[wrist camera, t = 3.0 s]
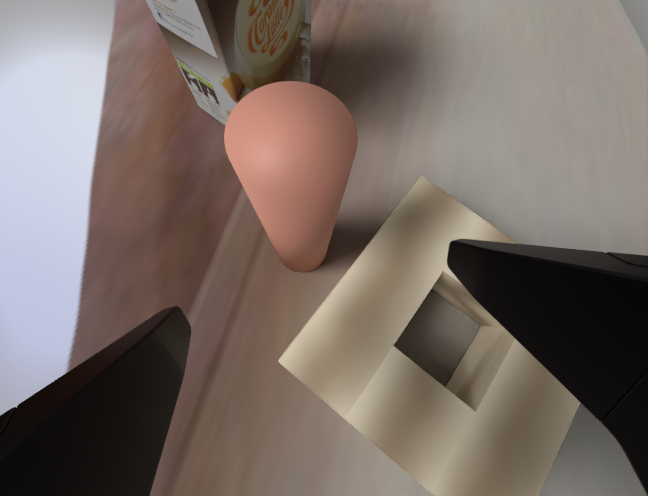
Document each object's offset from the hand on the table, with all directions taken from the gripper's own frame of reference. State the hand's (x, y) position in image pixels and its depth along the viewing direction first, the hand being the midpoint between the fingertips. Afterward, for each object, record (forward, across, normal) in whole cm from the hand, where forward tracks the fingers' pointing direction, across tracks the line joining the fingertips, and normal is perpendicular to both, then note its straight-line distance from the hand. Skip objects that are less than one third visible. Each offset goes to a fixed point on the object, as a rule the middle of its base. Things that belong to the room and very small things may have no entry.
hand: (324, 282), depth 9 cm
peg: (+12, 0, -6) cm, 13 cm away
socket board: (+5, +8, -12) cm, 15 cm away
